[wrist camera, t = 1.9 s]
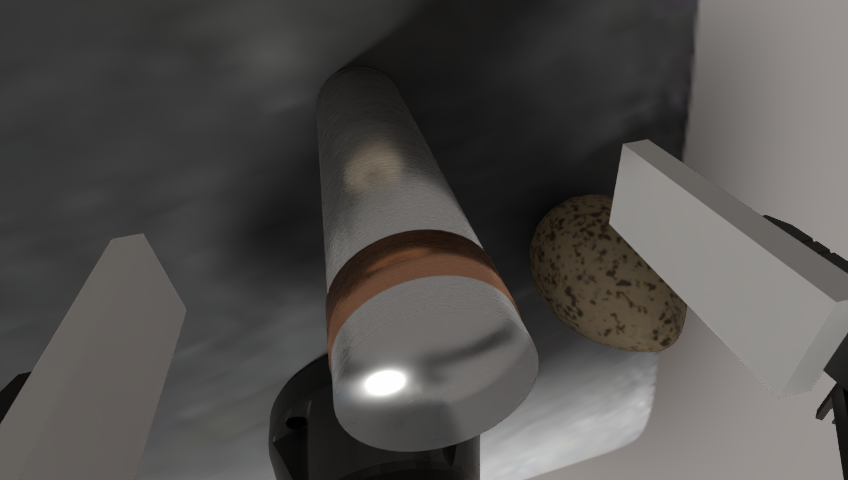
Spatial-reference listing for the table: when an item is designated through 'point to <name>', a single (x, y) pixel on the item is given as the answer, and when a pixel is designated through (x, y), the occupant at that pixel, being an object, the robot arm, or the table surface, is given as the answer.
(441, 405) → the tube
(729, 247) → the robot arm
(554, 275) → the decorative egg
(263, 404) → the table surface
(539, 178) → the table surface
